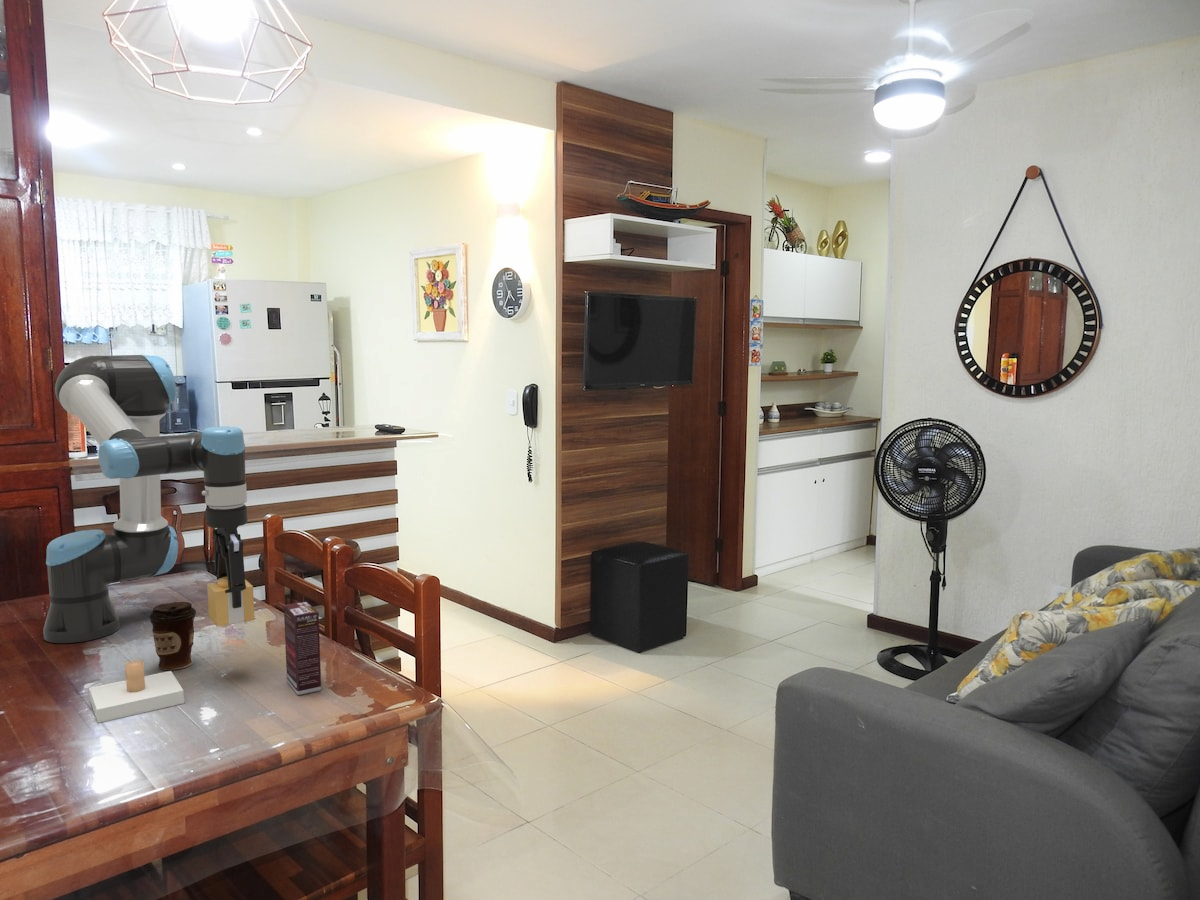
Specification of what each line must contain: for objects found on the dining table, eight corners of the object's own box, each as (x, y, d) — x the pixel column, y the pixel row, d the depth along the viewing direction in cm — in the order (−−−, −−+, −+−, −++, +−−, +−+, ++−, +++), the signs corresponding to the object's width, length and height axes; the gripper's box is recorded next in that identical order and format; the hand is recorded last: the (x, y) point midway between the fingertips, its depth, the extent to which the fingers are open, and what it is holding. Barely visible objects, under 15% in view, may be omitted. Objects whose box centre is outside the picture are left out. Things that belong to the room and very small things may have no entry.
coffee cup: (178, 675, 171) (174, 613, 169) (143, 672, 172) (138, 610, 171) (206, 659, 179) (203, 600, 177) (172, 656, 181) (168, 598, 179)
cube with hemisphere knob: (208, 617, 170) (206, 577, 168) (245, 610, 174) (243, 572, 173) (217, 626, 164) (215, 586, 163) (254, 619, 168) (252, 580, 167)
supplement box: (322, 690, 163) (319, 611, 161) (297, 696, 160) (293, 616, 158) (310, 676, 170) (307, 600, 168) (285, 681, 167) (282, 604, 165)
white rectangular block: (90, 700, 158) (87, 662, 157) (171, 682, 167) (169, 646, 166) (97, 723, 149) (94, 682, 148) (184, 703, 157) (181, 664, 156)
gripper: (194, 499, 171) (200, 607, 174) (217, 516, 156) (223, 635, 159) (233, 495, 176) (238, 601, 179) (260, 511, 160) (264, 627, 163)
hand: (231, 617), depth 169 cm, fingers closed on cube with hemisphere knob, 7 cm apart
